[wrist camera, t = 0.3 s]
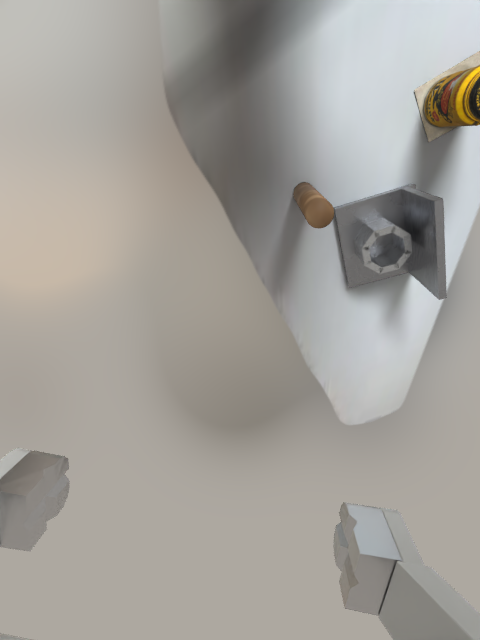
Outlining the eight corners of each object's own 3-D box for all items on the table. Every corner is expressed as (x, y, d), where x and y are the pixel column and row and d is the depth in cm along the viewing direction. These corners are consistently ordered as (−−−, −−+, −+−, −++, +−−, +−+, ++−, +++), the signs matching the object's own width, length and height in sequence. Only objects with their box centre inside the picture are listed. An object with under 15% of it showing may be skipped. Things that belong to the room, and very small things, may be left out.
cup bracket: (347, 285, 60) (366, 317, 49) (333, 207, 53) (352, 225, 43) (418, 266, 57) (454, 296, 47) (412, 183, 51) (451, 196, 41)
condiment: (413, 90, 46) (460, 77, 35) (479, 50, 43) (550, 23, 33) (427, 142, 48) (474, 145, 38) (490, 108, 46) (558, 100, 36)
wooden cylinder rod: (304, 177, 51) (321, 193, 37) (318, 192, 52) (339, 213, 38) (289, 193, 53) (300, 215, 39) (302, 208, 54) (318, 233, 40)
